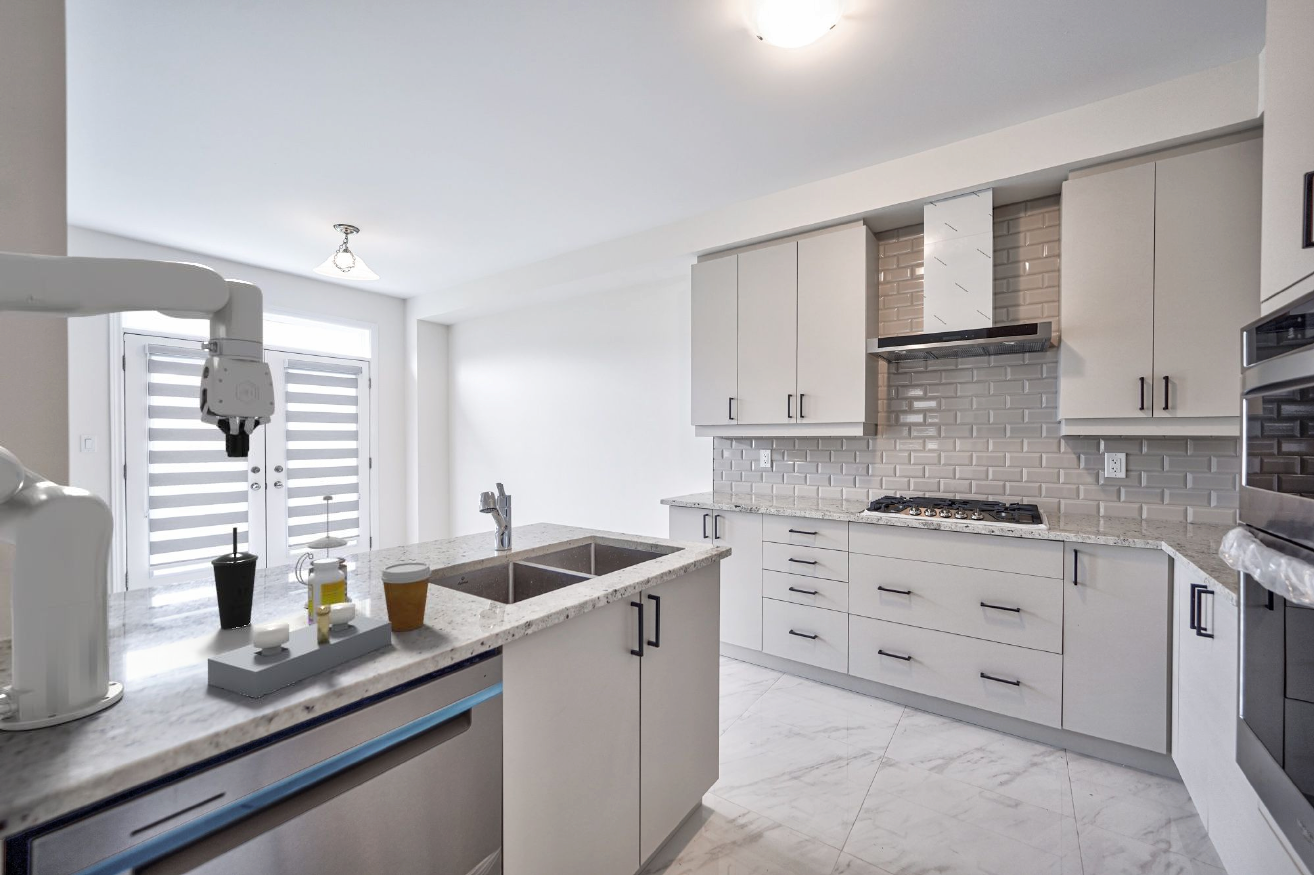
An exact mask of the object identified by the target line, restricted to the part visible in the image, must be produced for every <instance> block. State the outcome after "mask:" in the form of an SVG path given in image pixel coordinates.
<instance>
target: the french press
mask: <svg viewBox="0 0 1314 875" xmlns="http://www.w3.org/2000/svg"><path fill="white" fill-rule="evenodd" d="M322 500H323V501H326V506H327V509H326V510H327V512H326V515H327V517H326V518H327V519H326V520H327V521H326V522H327V523H326V526H327V528H326V530H327V533H326V534H327V535H326V536H325V537H321V538H318V539H315V540H312V541H311V542H310V543H308V545H307V548H308V549H311V550H323V549H327V550H326V551H327V556H326V557H325V558H323V559H326V558H329V549H335V548H340V547H344V546H347V544H348V542H349V541H348V540H346V539H343V538H341V537H338V536H330V535H329V501H333V496H332V495H331V494H326V495H324V496H323V498H322ZM305 555H306V556H305ZM304 556H305V557H304ZM310 556H311V557H310ZM303 557H304V559H303V560H302V561H301V563H300V560H301V559H302V558H303ZM307 558H308V559H309V560H313V559H314V554H313V553H309V552H306V553H304V554H303V555H301V556H300V558H299V559H297V562H296V565H295V569H294V571H295V572H294V573H295V577H296V579H297V582H298V583H300V584H301V585H304V586H307V587H308V583H306V581H305V582H304V579H303V578H302V566H303V563H304V561H305V560H306V559H307ZM336 558H337V559H339V567H338V570H340V571H342V572H343V573H344V575H345V603H349V602H350V603H353V602H352V601H353V598H351V597H350V596H349V595H348V565H347V564H344V563H345V562H346V558H344V557H336ZM320 559H321V558H318V559H314V560H313V561H310V562H309V565H311V566H312V567H310V568H308V576H307V577H308V578H309V576H310V575H311V574H313V573H314V571H315V569H314V568H313V562H314V561H316V560H320ZM299 563H300V567H299V570H298V569H297V568H298V564H299ZM298 571H299V577H298ZM308 578H307V579H308ZM303 606H305V608H304V609H306V608H308V600H307V601H306V602H305V603H304V605H303Z"/></svg>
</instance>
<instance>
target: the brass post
mask: <svg viewBox="0 0 1314 875" xmlns="http://www.w3.org/2000/svg"><path fill="white" fill-rule="evenodd" d="M330 612H331V605H321V606H317V607H316V615H317V644H325V643H328V642H329V641H330V626H329V613H330Z"/></svg>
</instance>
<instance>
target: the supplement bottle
mask: <svg viewBox="0 0 1314 875" xmlns="http://www.w3.org/2000/svg"><path fill="white" fill-rule="evenodd" d="M337 558H338V557H328V558H327V557H325V559H324V558H319V559H320V560H318V559H315V560H316V561H314V560H313V561H314V562H313V566H312V567H313V568H314V569H315V571H314V573H313V574H312V573H311V574H310V576H309V578H307V584H308V586H307V598H308V599H307V601H308V609H307V611H308V612H307V616H308V617H307V619H308V625H309V626H310V625H313V624H316V623H317V615H316V607H317V606H321V605H332V604H337V603H345V575H344V573H343V572H342V571H340V570H338V567H339V559H337Z"/></svg>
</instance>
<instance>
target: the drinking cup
mask: <svg viewBox="0 0 1314 875" xmlns="http://www.w3.org/2000/svg"><path fill="white" fill-rule="evenodd" d="M258 559H259V556H258V555H257V554H252V553H249V552H243V551H239V552H238V527H235V526H234V527H232V552H230V553H226V554H223V555H221V556H219V557H217V558H215V559H212V560H211V566H212V567H213V575H214V583H215V590H216V591H215V592H216V599H217V607H218V616H219V622H220V623H219V624H220V629H221V630H233V629H232V628H236V627H241V628H243V627H242V626H244V625H247V626H249V625H250V624H251V619H252V609H253V600H254V590H255V581H256V579H255V578H256V568H257V561H258ZM249 623H250V624H249ZM248 624H249V625H248ZM244 627H245V626H244ZM236 629H237V628H236Z"/></svg>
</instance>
